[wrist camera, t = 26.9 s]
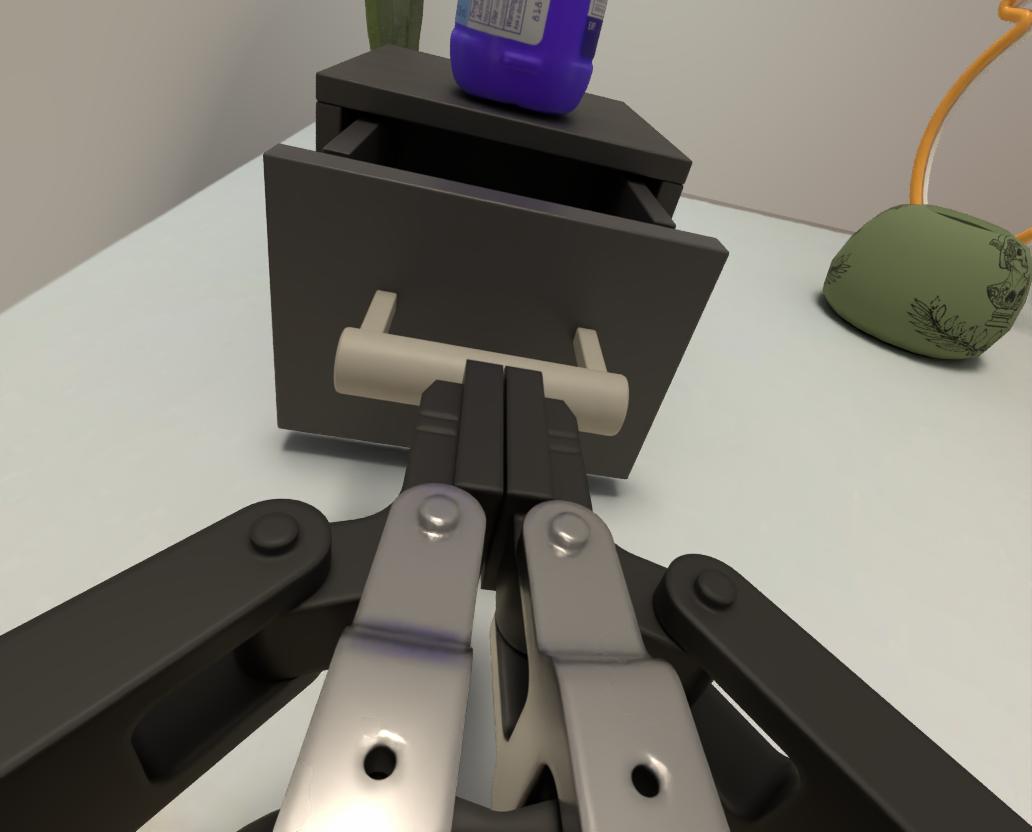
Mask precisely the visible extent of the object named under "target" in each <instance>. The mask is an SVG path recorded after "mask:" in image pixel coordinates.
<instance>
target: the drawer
mask: <svg viewBox="0 0 1032 832" xmlns="http://www.w3.org/2000/svg"><path fill="white" fill-rule="evenodd" d="M263 162H264V181H265V199H266V218H267V237H268V256H269V275H270V293H271V312H272V331H273V350H274V369H275V387H276V406H277V425H278V428H281V429H287V430H294V431H301V432H308V433H314V434H321V435H328V436H335V437H342V438H348V439H355V440H362V441H369V442H376V443H382V444H389V445H396V446H403V447H409V448H411V444H412V439H413V434H414V430H415V425H416V420H417V415H418V410H419V406H420V401H421V396H422V393H423V392H424V391H425V390H426V389H427V388H428V387H429V386H430V385H431V384H432V383H433V382H434V381H435V380H436V379H437V380H443V381H449V382H455V383H461V384H462V380H463V375H464V369H465V364H466V360H467V359H470V360H476V361H482V362H488V363H494V364H500V365H503V370H504V368H505V366H512V367H518V368H524V369H530V370H535V371H541V372H542V375H543V384H544V394H545V397H547V398H553V399H559V400H564V402H565V403H566V404H567V406H568V407H569V408H570V410H571V411H572V412H573V414H574V415H575V416H576V418H577V424H578V429H579V435H580V436H579V440H580V441H581V447H582V455H583V458H584V464H585V470H586V474H593V475H599V476H606V477H613V478H620V479H627V478H628V476H629V474H630V472H631V469H632V467H633V465H634V463H635V461H636V458H637V456H638V454H639V452H640V450H641V447H642V445H643V443H644V441H645V439H646V436H647V434H648V432H649V430H650V428H651V425H652V423H653V421H654V419H655V417H656V414H657V412H658V410H659V408H660V406H661V403H662V401H663V399H664V397H665V395H666V392H667V390H668V388H669V386H670V384H671V381H672V379H673V377H674V375H675V372H676V370H677V368H678V366H679V364H680V361H681V359H682V357H683V355H684V353H685V350H686V348H687V346H688V344H689V342H690V339H691V337H692V335H693V333H694V331H695V328H696V326H697V324H698V322H699V320H700V317H701V315H702V313H703V311H704V309H705V306H706V304H707V302H708V300H709V298H710V295H711V293H712V291H713V289H714V287H715V284H716V282H717V280H718V278H719V275H720V273H721V271H722V269H723V267H724V264H725V262H726V260H727V258H728V256H729V252H728V250H727V249H726V248H725V247H724V246H723V245H722V244H721V243H720V241H719V240H718V239H716V238H713V237H708V236H704V235H699V234H694V233H690V232H685V231H681V230H676V229H675V228H676V224H675V223H674V222H673V220H672V219H671V218H670V217H669V215H668V214H667V213H666V211H665V210H664V209H663V207H662V206H661V205H660V203H659V202H658V201H657V199H656V198H655V197H654V196H653V194H652V193H651V192H650V190H649V189H648V188H647V186H646V185H645V184H644V182H643V181H642V180H641V179H640V177H639V176H638V175H637V174H633V173H629V172H624V171H620V170H616V169H611V168H607V167H603V166H598V165H594V164H590V163H585V162H581V161H576V160H572V159H568V158H563V157H559V156H555V155H550V154H546V153H542V152H537V151H533V150H528V149H524V148H520V147H515V146H511V145H507V144H502V143H498V142H494V141H489V140H485V139H480V138H476V137H472V136H467V135H463V134H459V133H454V132H450V131H446V130H441V129H437V128H432V127H428V126H424V125H419V124H415V123H411V122H406V121H402V120H398V119H393V118H389V117H385V116H380V115H376V114H371V113H367V112H366V113H364V114H363V115H362V116H361V117H360V118H358V119H357V120H356V121H355V122H354V123H352V124H351V125H350V126H349V127H347V128H346V129H345V130H344V131H343V132H341V133H340V134H339V135H338V136H337V137H335V138H334V139H333V140H332V141H331V142H329V143H328V144H327V145H326V146H325V147H323V149H322V153H321V152H316V151H311V150H307V149H302V148H298V147H293V146H288V145H284V144H277V145H275V146H274V147H272V148H271V149H269V150H268V151H266V152H264V154H263Z"/></svg>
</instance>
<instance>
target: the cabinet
mask: <svg viewBox="0 0 1032 832" xmlns="http://www.w3.org/2000/svg"><path fill="white" fill-rule="evenodd" d="M316 99H317V103H316V152H321V153H322V149H323V147H325V146H326V145H327V144H328V143H329V142H331V141H332V140H333V139H334V138H335V137H337V136H338V135H339V134H340V133H341V132H343V131H344V130H345V129H346V128H347V127H349V126H350V125H351V124H352V123H354V122H355V121H356V120H357V119H358V118H360V117H361V116H362V115H363V114H364V113H366V112H367V113H371V114H376V115H380V116H385V117H389V118H393V119H398V120H402V121H406V122H411V123H415V124H419V125H424V126H428V127H432V128H437V129H441V130H446V131H450V132H454V133H459V134H463V135H467V136H472V137H476V138H480V139H485V140H489V141H494V142H498V143H502V144H507V145H511V146H515V147H520V148H524V149H528V150H533V151H537V152H542V153H546V154H550V155H555V156H559V157H563V158H568V159H572V160H576V161H581V162H585V163H590V164H594V165H598V166H603V167H607V168H611V169H616V170H620V171H624V172H629V173H633V174H637V175H638V176H639V177H640V179H641V180H642V181H643V182H644V184H645V185H646V186H647V188H648V189H649V190H650V192H651V193H652V194H653V196H654V197H655V198H656V199H657V201H658V202H659V203H660V205H661V206H662V207H663V209H664V210H665V211H666V213H667V214H668V215H669V217H670V218H671V219H672V216H673V214H674V211H675V208H676V206H677V203H678V200H679V198H680V195H681V192H682V190H683V185H682V184H684V183H685V181H686V178H687V176H688V173H689V171H690V168H691V165H692V161H691V160H690V159H689V158H688V157H687V156H686V155H684V154H683V153H682V152H681V151H680V150H678V149H677V148H676V147H675V146H674V145H673V144H672V143H670V142H669V141H668V140H667V139H666V138H665V137H663V136H662V135H661V134H660V133H659V132H658V131H656V130H655V129H654V128H653V127H652V126H651V125H650V124H648V123H647V122H646V121H645V120H644V119H643V118H641V117H640V116H639V115H638V114H637V113H636V112H634V111H633V110H632V109H631V108H630V107H629V106H627V105H626V104H625V103H624V102H621V101H617V100H613V99H609V98H605V97H601V96H597V95H593V94H589V93H584V95H583V97H582V99H581V101H580V103H579V104H578V106H577V107H576V108H575V109H574V110H573V111H571V112H569V113H567V114H562V115H551V114H543V113H539V112H535V111H532V110H528V109H523V108H520V107H518V106H516V105H514V104H503V103H499V102H495V101H492V100H488V99H482V98H478V97H475V96H472V95H470V94H468V93H467V92H465V91H464V90H463V89H461V88H460V87H459V85H458V84H457V83H456V81H455V79H454V77H453V73H452V68H451V59H447V58H444V57H440V56H435V55H431V54H427V53H423V52H419V51H415V50H411V49H407V48H403V47H399V46H395V45H391V44H387V45H384V46H382V47H379V48H377V49H374V50H372V51H369V52H367V53H364V54H362V55H360V56H357V57H354V58H352V59H349V60H347V61H344V62H342V63H340V64H337V65H335V66H332V67H329V68H327V69H324V70H322V71H319V72H317V73H316Z"/></svg>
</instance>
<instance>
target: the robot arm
mask: <svg viewBox="0 0 1032 832" xmlns="http://www.w3.org/2000/svg"><path fill="white" fill-rule="evenodd" d="M579 436H580V435H579V429H578V424H577V418H576V416H575V415H574V414H573V412H572V411H571V410H570V408H569V407H568V406H567V404H566V403H565V402H564V400H559V399H553V398H547V397H545V394H544V384H543V375H542V372H541V371H535V370H530V369H524V368H518V367H512V366H505V368H504V370H503V365H500V364H494V363H488V362H482V361H476V360H470V359H467V360H466V364H465V369H464V375H463V380H462V384H461V383H455V382H449V381H443V380H437V379H436V380H435V381H434V382H433V383H432V384H431V385H430V386H429V387H428V388H427V389H426V390H425V391H424V392H423V393H422V396H421V401H420V406H419V410H418V415H417V420H416V425H415V430H414V434H413V439H412V444H411V449H410V454H409V458H408V463H407V468H406V473H405V478H404V482H403V486H402V490H401V492H400V494H399V495H398V497H397V498H396V499H395V501H394V502H393V503H392V504H390V505H389V506H388V507H387V508H385V509H384V510H382V511H380V512H378V513H376V514H374V515H371V516H368V517H365V518H360V519H355V520H348V521H340V522H332V523H329V522H328V520H327V518H326V517H325V516H324V515H323V514H322V513H321V511H319V510H318V509H316V508H315V507H313V506H311V505H309V504H307V503H304V502H301V501H298V500H292V499H271V500H265V501H261V502H257V503H254V504H251V505H249V506H247V507H245V508H243V509H241V510H239V511H237V512H235V513H233V514H231V515H229V516H227V517H225V518H224V519H222V520H220V521H218V522H216V523H214V524H212V525H210V526H208V527H206V528H205V529H203V530H201V531H199V532H197V533H195V534H193V535H191V536H189V537H187V538H186V539H184V540H182V541H180V542H178V543H176V544H174V545H172V546H170V547H168V548H166V549H165V550H163V551H161V552H159V553H157V554H155V555H153V556H151V557H149V558H147V559H146V560H144V561H142V562H140V563H138V564H136V565H134V566H132V567H130V568H128V569H127V570H125V571H123V572H121V573H119V574H117V575H115V576H113V577H111V578H109V579H108V580H106V581H104V582H102V583H100V584H98V585H96V586H94V587H92V588H90V589H89V590H87V591H85V592H83V593H81V594H79V595H77V596H75V597H73V598H71V599H69V600H68V601H66V602H64V603H62V604H60V605H58V606H56V607H54V608H52V609H50V610H49V611H47V612H45V613H43V614H41V615H39V616H37V617H35V618H33V619H31V620H30V621H28V622H26V623H24V624H22V625H20V626H18V627H16V628H14V629H12V630H11V631H9V632H7V633H5V634H3V635H1V636H0V832H136V831H137V830H138V829H139V828H140V827H141V826H143V825H144V824H145V823H146V822H147V821H149V820H150V819H151V818H152V817H153V816H155V815H156V814H157V813H158V812H159V811H160V810H162V809H163V808H164V807H165V806H166V805H168V804H169V803H170V802H171V801H172V800H173V799H175V798H176V797H177V796H178V795H179V794H181V793H182V792H183V791H184V790H185V789H187V788H188V787H189V786H190V785H191V784H192V783H194V782H195V781H196V780H197V779H198V778H200V777H201V776H202V775H203V774H204V773H205V772H207V771H208V770H209V769H210V768H211V767H213V766H214V765H215V764H216V763H217V762H219V761H220V760H221V759H222V758H223V757H224V756H226V755H227V754H228V753H229V752H230V751H232V750H233V749H234V748H235V747H236V746H237V745H239V744H240V743H241V742H242V741H243V740H245V739H246V738H247V737H248V736H249V735H251V734H252V733H253V732H254V731H255V730H256V729H258V728H259V727H260V726H261V725H262V724H264V723H265V722H266V721H267V720H268V719H269V718H271V717H272V716H273V715H274V714H275V713H277V712H278V711H279V710H280V709H281V708H283V707H284V706H285V705H286V704H287V703H288V702H290V701H291V700H292V699H293V698H294V697H296V696H297V695H298V694H299V693H300V692H301V691H303V690H304V689H305V688H306V687H307V686H309V685H310V684H311V683H312V682H313V681H314V680H315V679H316V678H317V677H318V676H319V674H320V673H321V672H322V671H324V670H328V672H327V675H326V678H325V681H324V684H323V687H322V690H321V693H320V696H319V699H318V701H317V704H316V707H315V710H314V713H313V716H312V719H311V722H310V725H309V728H308V731H307V733H306V736H305V739H304V742H303V745H302V748H301V751H300V754H299V757H298V760H297V762H296V765H295V768H294V771H293V774H292V777H291V780H290V783H289V786H288V789H287V791H286V794H285V797H284V800H283V803H282V806H281V809H279V810H276V811H274V812H271V813H269V814H267V815H265V816H263V817H261V818H259V819H257V820H256V821H254V822H252V823H250V824H248V825H246V826H244V827H243V828H241V829H240V830H238V831H237V832H1032V826H1031V825H1030V824H1028V823H1027V822H1026V821H1025V820H1024V819H1023V818H1021V817H1020V816H1019V815H1018V814H1017V813H1016V812H1014V811H1013V810H1012V809H1011V808H1010V807H1009V806H1008V805H1006V804H1005V803H1004V802H1003V801H1002V800H1001V799H999V798H998V797H997V796H996V795H995V794H994V793H993V792H991V791H990V790H989V789H988V788H987V787H986V786H984V785H983V784H982V783H981V782H980V781H979V780H977V779H976V778H975V777H974V776H973V775H972V774H971V773H969V772H968V771H967V770H966V769H965V768H964V767H962V766H961V765H960V764H959V763H958V762H957V761H955V760H954V759H953V758H952V757H951V756H950V755H949V754H947V753H946V752H945V751H944V750H943V749H942V748H940V747H939V746H938V745H937V744H936V743H935V742H934V741H932V740H931V739H930V738H929V737H928V736H927V735H925V734H924V733H923V732H922V731H921V730H920V729H918V728H917V727H916V726H915V725H914V724H913V723H912V722H910V721H909V720H908V719H907V718H906V717H905V716H903V715H902V714H901V713H900V712H899V711H898V710H896V709H895V708H894V707H893V706H892V705H891V704H890V703H888V702H887V701H886V700H885V699H884V698H883V697H881V696H880V695H879V694H878V693H877V692H876V691H875V690H873V689H872V688H871V687H870V686H869V685H868V684H866V683H865V682H864V681H863V680H862V679H861V678H859V677H858V676H857V675H856V674H855V673H854V672H853V671H851V670H850V669H849V668H848V667H847V666H846V665H844V664H843V663H842V662H841V661H840V660H839V659H838V658H836V657H835V656H834V655H833V654H832V653H831V652H829V651H828V650H827V649H826V648H825V647H824V646H822V645H821V644H820V643H819V642H818V641H817V640H816V639H814V638H813V637H812V636H811V635H810V634H809V633H807V632H806V631H805V630H804V629H803V628H802V627H800V626H799V625H798V624H797V623H796V622H795V621H794V620H792V619H791V618H790V617H789V616H788V615H787V614H785V613H784V612H783V611H782V610H781V609H780V608H779V607H777V606H776V605H775V604H774V603H773V602H772V601H770V600H769V599H768V598H767V597H766V596H765V595H763V594H762V593H761V592H760V591H759V590H758V589H757V588H755V587H754V586H753V585H752V584H751V583H750V582H748V581H747V580H746V579H745V578H744V577H743V576H741V575H740V574H739V573H738V572H737V571H735V570H734V569H733V568H732V567H730V566H728V565H727V564H725V563H724V562H722V561H720V560H717V559H715V558H712V557H710V556H706V555H701V554H686V555H682V556H680V557H678V558H676V559H675V560H673V561H672V562H671V564H670V565H669V567H668V568H666V567H663V566H661V565H658V564H656V563H653V562H651V561H648V560H646V559H643V558H641V557H638V556H636V555H634V554H632V553H629V552H627V551H626V550H624V549H622V548H621V547H619V546H618V545H616V544H615V543H614V540H613V537H612V535H611V532H610V530H609V528H608V527H607V525H606V524H605V523H604V521H603V520H602V519H601V518H600V517H599V516H598V515H597V514H595V513H594V512H593V510H592V504H591V499H590V493H589V487H588V481H587V476H586V470H585V464H584V458H583V455H582V447H581V441H580V440H579ZM480 575H481V589H485V590H494V591H496V611H495V614H494V617H493V620H492V623H491V627H490V650H491V667H492V684H493V702H494V719H495V736H496V761H495V770H494V776H493V786H492V810H491V809H489V808H486V807H483V806H481V805H478V804H475V803H473V802H470V801H467V800H465V799H462V798H459V797H457V796H455V795H456V787H457V780H458V772H459V764H460V756H461V748H462V740H463V732H464V724H465V716H466V708H467V701H468V693H469V685H470V677H471V668H472V657H473V649H472V647H470V643H471V633H472V626H473V618H474V611H475V603H476V596H477V588H478V582H479V579H480ZM713 681H715V682H716V683H717V684H718V685H719V686H720V687H721V688H722V689H723V690H724V691H725V692H726V693H727V694H728V695H729V696H730V697H731V698H732V699H733V700H734V701H735V702H736V703H737V704H738V705H739V706H740V707H741V708H742V709H743V710H744V711H745V712H746V713H747V714H748V715H749V716H750V717H751V718H752V719H753V720H754V721H755V723H756V724H757V725H758V726H759V727H760V728H761V729H762V730H763V731H764V732H765V733H766V734H767V735H768V736H769V737H770V738H771V739H772V740H773V741H774V742H775V743H776V744H777V745H778V746H779V747H780V748H781V749H782V750H783V751H784V752H785V753H786V754H787V755H788V757H789V758H788V757H786V756H784V755H782V754H781V753H779V752H778V751H777V750H776V749H775V748H774V747H772V746H771V745H770V743H769V742H768V741H767V740H766V739H765V738H764V737H763V736H762V735H761V734H760V733H759V732H758V731H757V730H756V729H755V728H754V727H753V726H752V725H751V724H750V723H749V722H748V721H747V720H746V719H745V718H744V717H743V716H742V715H741V714H740V713H739V712H738V711H737V710H736V709H735V708H734V706H733V705H732V704H731V703H730V702H729V701H728V700H727V699H726V698H725V697H724V696H723V695H722V694H721V693H720V692H719V691H718V690H717V689H716V688H715V687H714V686H713V685H712V684H711V683H712V682H713Z"/></svg>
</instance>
